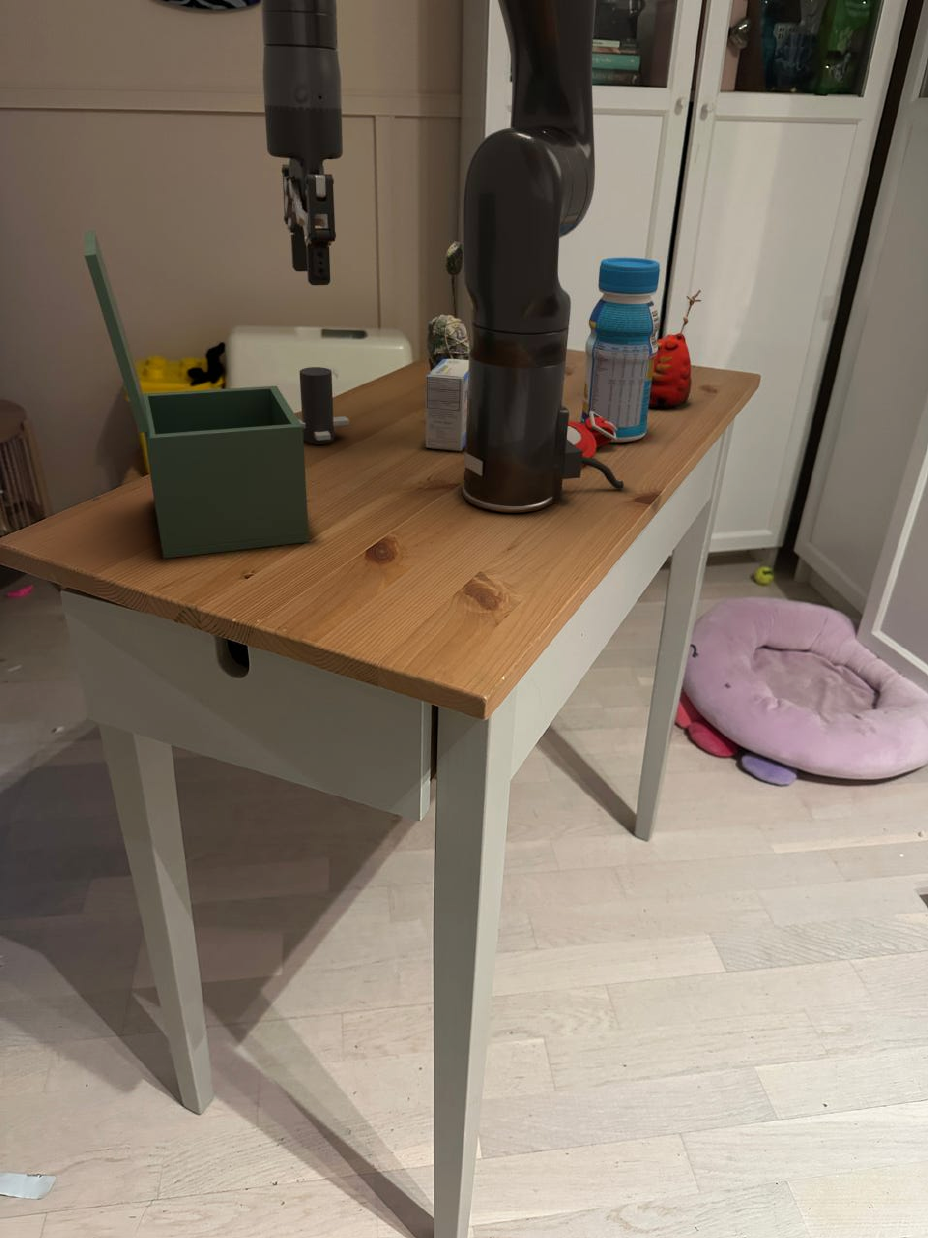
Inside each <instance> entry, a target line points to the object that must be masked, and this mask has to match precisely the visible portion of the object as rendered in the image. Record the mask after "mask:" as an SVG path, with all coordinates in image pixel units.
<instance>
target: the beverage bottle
mask: <svg viewBox="0 0 928 1238" xmlns="http://www.w3.org/2000/svg"><path fill="white" fill-rule="evenodd" d="M660 264H661V263H660V262H658V261H656V260H654V259H649V258H642V257H641V258H640V257H608V258H604V259H602V260H601V262H600V265H599V270H598V271H599V272H598V283H597V284H598V291H599V292H600V293H602V296H601V297H600V299H599V300H598V301H597V302H596V304H595V306H594V307H593V310H592V311H591V313H590V316H589V319H588V327H589V330H590V333H589V335H588V337H587V339H586V341H585V348H584V349H585V350H584V351H585V354H586V361H585V372H584V373H585V374H584V388H583V399H582V408H581V409H582V410H581V416H580V422H579V423H585V420H586V419H587V418H590V415H589V412H590V411H593V412H595V413H596V414H598V415H599V416H601V417H603V418H605V419H607V420H608V421H609V422H610V423H612V424H613V425H614V426H615V427H616V428H617V431H615V433H616V438H617V440H616V441H613V440H611V441H610V442H609V443H629V442H635V441H638V440H640V439H642V438H643V437H645V435H646V434H647V430H648V429H647V428H648V413H649V406H648V405H649V397H650V389H651V382H652V374H653V367H654V359H655V358H656V356H657V352H658V343H657V341H658V340H657V337H656V335H657V333H658V331H659V329H660V325H661V323H660V316H659V313H658V310H657V307H656V305H655V303H654V301H653V299H652V296H654V295H656V294H657V291H658V288H659V283H660V282H659V281H660V275H661V274H660V272H661V265H660Z"/></svg>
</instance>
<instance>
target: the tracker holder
mask: <svg viewBox="0 0 928 1238" xmlns="http://www.w3.org/2000/svg"><path fill="white" fill-rule="evenodd" d="M589 415H590V418H587V419H586V420H585V423H580V422H575V421H573V420H569V421H568V432H567V440H568V441H570V442H571V443H572V444H574V445H575V446H576V447H578V448H579V449H581V450H582V451H583V454H582V456H584V457H588V458H591V459H593V458H594V456H595V454H596V451H597V448H598V447H603V446H605V445H607V444H609V443H611V442H610V441H611V440H613V441H616V440H617V438H616V433H615V431H617V428H616V427H615V426H614V425H613V424H612V423H610V422H609V421H608V420H607V419H605V418H603V417H601V416H599V415H598V414H596V413H595V412H593V411H590V412H589ZM583 466H585V465H584V464H581V468H582V467H583Z"/></svg>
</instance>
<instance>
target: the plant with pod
mask: <svg viewBox="0 0 928 1238" xmlns="http://www.w3.org/2000/svg"><path fill="white" fill-rule="evenodd" d="M444 264H445V268H446V272H447V273H448V275H451V292H452V293H451V294H452V305H453V306H452V307H453V313H454V314H453V315H451V314H448V315H445V314H440V315H439V316H436V317H434V319H432V320H431V321H430V322H429V324H428V328H427V329H428V334H427V339H426V346H427V353H428V363H429V369H430V372H431V371H432V370H433V369H434V368H435V367H436V366H437V365H438V364H439V363H440V361H441V360H442V359H460V360H469V340H470V337H469V335H468V330H467V328H466V327H465V324H464V322H463V321H462V319H460V318H459V317H458V318H457V305H456V304H457V303H456V293H455V291H456V289H455V285H456V284H455V283H456V282H455V281H456V276H459V274H460V273H461V271H462V270H463V243H461V242H459V241H453V243H452V244H451V245H450V246H449V247H448V249H447V251H446V253H445V259H444ZM426 318H429V316H428V315H427V316H426Z"/></svg>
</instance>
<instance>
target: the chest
mask: <svg viewBox="0 0 928 1238" xmlns="http://www.w3.org/2000/svg"><path fill="white" fill-rule="evenodd" d="M143 398H144V403H145V408H146V414H147V419H148V425H149V431H148V432H143V434H144V443H145V449H146V450H145V451H146V454H147V455H146V456H147V462H148V469H149V476H150V483H151V489H152V495H153V502H154V508H155V509H154V510H155V515H156V521H157V527H158V534H159V538H160V544H161V551H162V558H163V559H164V560H167V559H174V558H183V557H192V556H199V555H208V554H209V555H210V554H217V553H226V552H235V551H244V550H252V549H259V548H269V547H278V546H285V545H293V544H294V545H295V544H302V543H303V544H304V543H309V542H310V535H309V533H310V532H309V517H308V516H309V513H308V499H307V481H306V462H305V445H304V440H303V427H302V425H301V423H300V422H299V420H300V419H299V418H298V417H297V416H296V414H295V412H294V411H293V409H292V407H291V406H290V405H289V403H288V401H287V399H286V398H285V397H284V395H283V393H282V391H281V390H280V389H279V387H278V385H264V386H262V385H261V386H249V387H248V386H247V387H246V386H245V387H232V388H231V387H230V388H213V389H199V390H183V391H182V390H180V391H165V392H164V391H163V392H150V393H147V392H146V393H143Z"/></svg>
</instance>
